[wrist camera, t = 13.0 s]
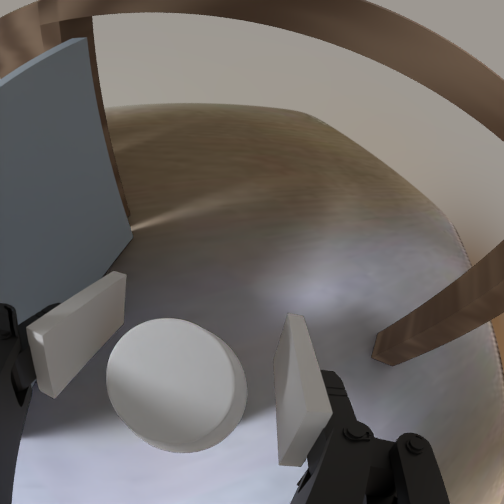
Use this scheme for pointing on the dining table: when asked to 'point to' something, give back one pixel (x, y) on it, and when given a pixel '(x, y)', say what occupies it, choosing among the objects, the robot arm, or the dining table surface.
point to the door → (55, 183)
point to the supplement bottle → (176, 385)
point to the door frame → (349, 37)
